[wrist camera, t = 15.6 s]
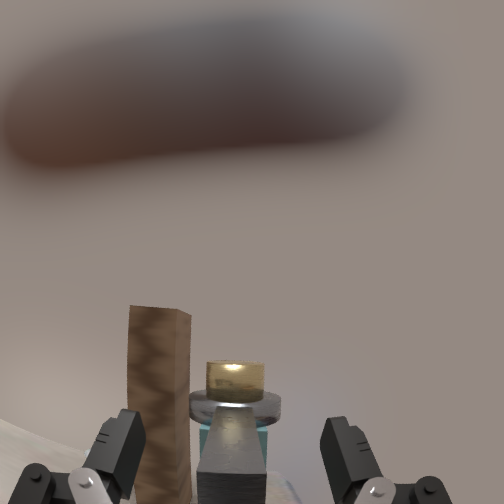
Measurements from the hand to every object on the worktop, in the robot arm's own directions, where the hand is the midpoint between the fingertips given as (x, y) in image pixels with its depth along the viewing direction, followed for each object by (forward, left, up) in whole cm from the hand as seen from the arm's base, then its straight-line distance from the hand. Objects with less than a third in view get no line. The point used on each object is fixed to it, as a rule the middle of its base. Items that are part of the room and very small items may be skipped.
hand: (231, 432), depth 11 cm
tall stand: (-10, +27, -25) cm, 38 cm away
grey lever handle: (0, +10, -4) cm, 11 cm away
